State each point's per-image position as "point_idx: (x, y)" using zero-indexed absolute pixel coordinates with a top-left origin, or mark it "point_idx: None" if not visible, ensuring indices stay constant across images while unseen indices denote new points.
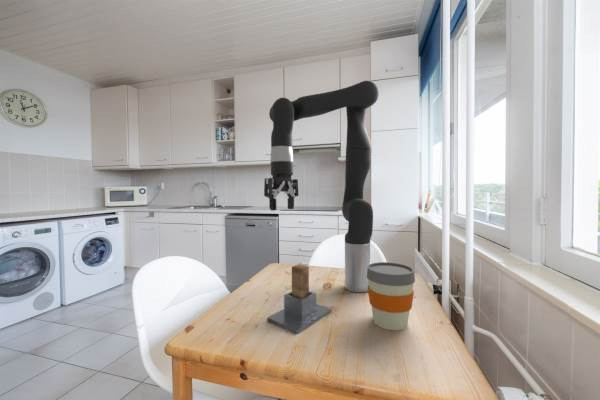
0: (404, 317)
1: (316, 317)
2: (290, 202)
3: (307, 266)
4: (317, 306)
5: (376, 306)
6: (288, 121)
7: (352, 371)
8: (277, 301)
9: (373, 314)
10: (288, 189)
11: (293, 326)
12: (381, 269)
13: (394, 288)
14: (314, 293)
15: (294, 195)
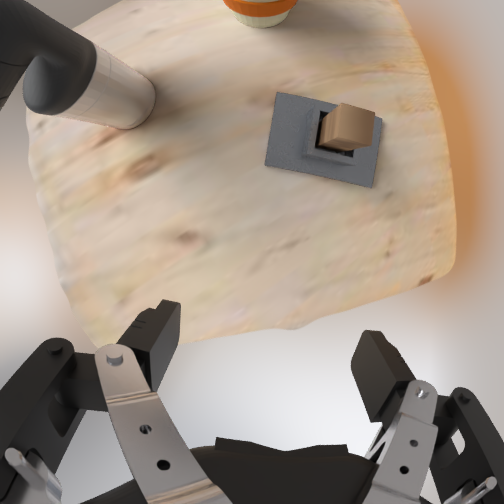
0: None
1: (327, 104)
2: (164, 347)
3: (346, 105)
4: (282, 120)
5: (296, 1)
6: None
7: (404, 39)
8: (287, 219)
9: (279, 18)
10: (191, 454)
11: (375, 129)
12: None
13: None
14: (317, 106)
15: (105, 359)
